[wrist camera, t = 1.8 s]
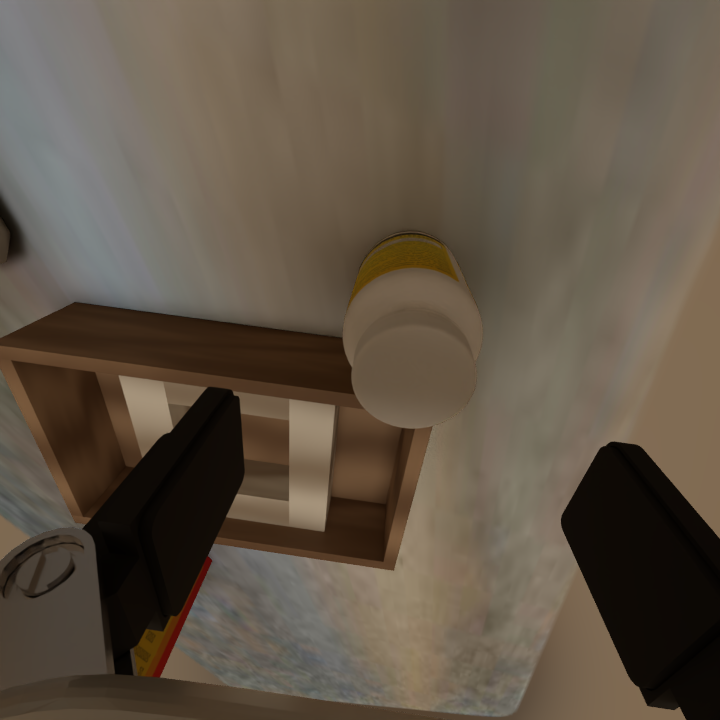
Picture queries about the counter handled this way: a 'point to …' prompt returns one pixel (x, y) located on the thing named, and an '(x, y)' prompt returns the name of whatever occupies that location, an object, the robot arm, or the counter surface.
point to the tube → (4, 241)
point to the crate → (258, 417)
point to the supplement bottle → (412, 332)
